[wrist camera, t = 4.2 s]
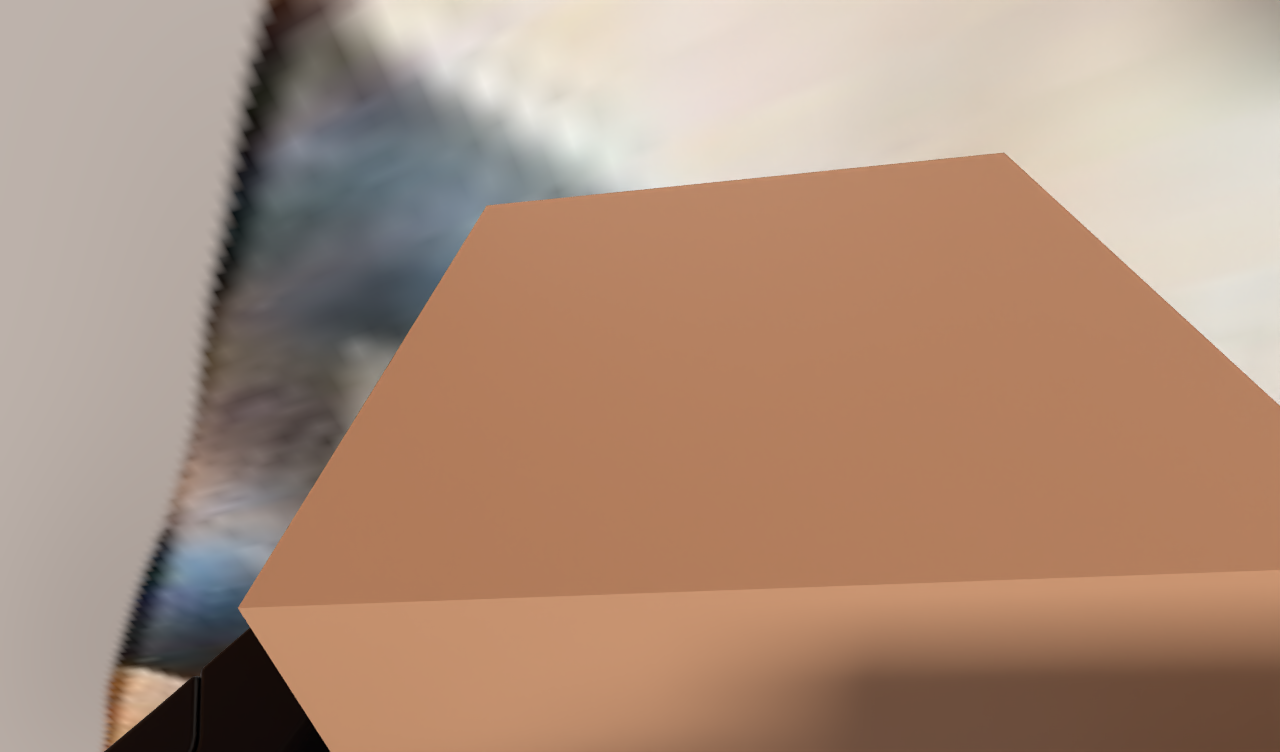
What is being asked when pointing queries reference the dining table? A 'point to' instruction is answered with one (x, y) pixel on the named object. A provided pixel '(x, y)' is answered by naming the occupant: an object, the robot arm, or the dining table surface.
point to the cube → (792, 489)
